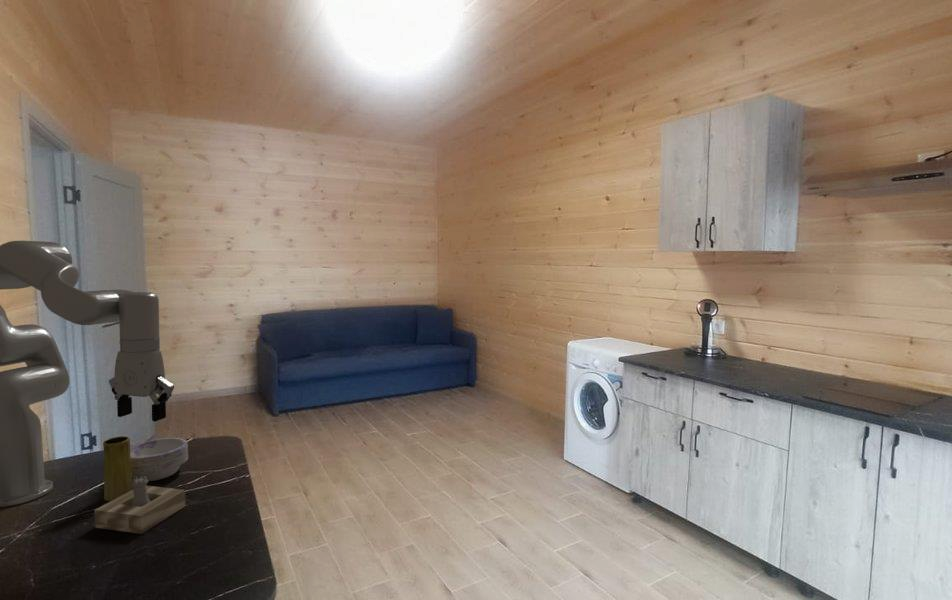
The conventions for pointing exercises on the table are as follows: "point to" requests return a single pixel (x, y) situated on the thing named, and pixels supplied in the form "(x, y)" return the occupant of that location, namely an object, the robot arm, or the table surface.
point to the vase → (117, 467)
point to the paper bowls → (158, 458)
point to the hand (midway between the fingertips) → (141, 417)
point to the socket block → (139, 510)
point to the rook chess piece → (140, 492)
